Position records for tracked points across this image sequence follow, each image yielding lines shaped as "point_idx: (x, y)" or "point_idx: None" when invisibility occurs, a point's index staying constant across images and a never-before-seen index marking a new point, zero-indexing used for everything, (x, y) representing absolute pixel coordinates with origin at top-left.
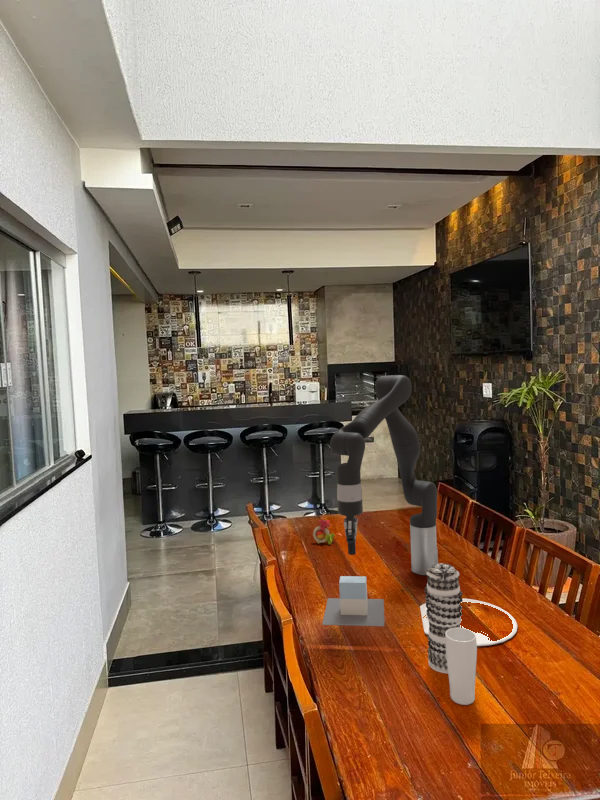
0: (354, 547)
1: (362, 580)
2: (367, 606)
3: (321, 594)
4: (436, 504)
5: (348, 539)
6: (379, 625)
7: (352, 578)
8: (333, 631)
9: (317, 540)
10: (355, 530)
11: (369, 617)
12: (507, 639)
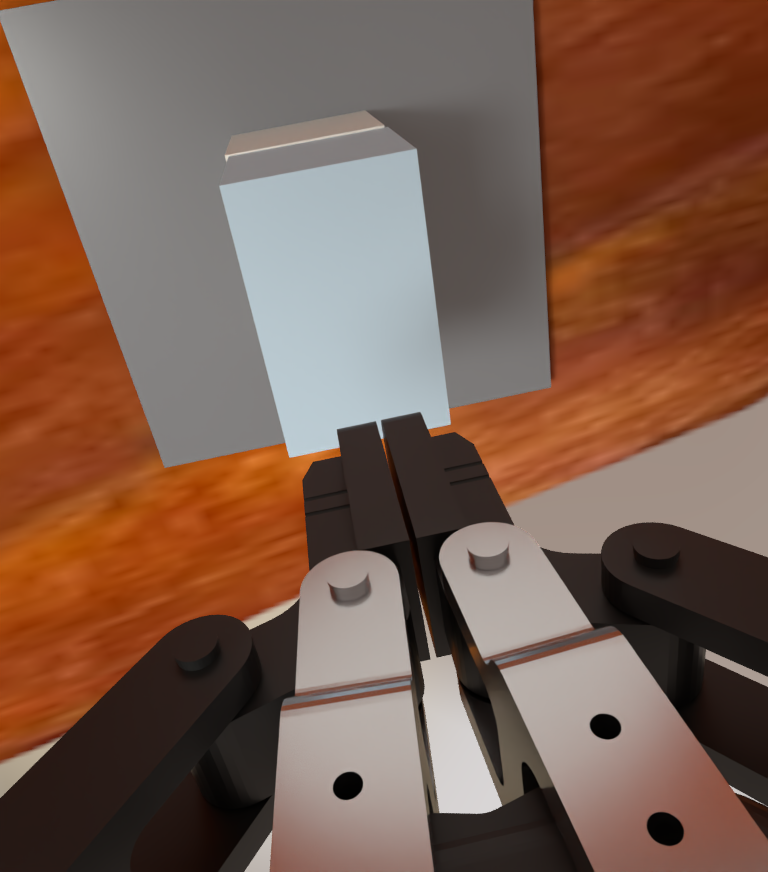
0: (447, 482)
1: (352, 205)
2: (263, 132)
3: (79, 525)
4: None
5: (700, 689)
6: None
7: (320, 328)
8: (578, 302)
9: None
10: (701, 773)
11: (397, 84)
12: None
